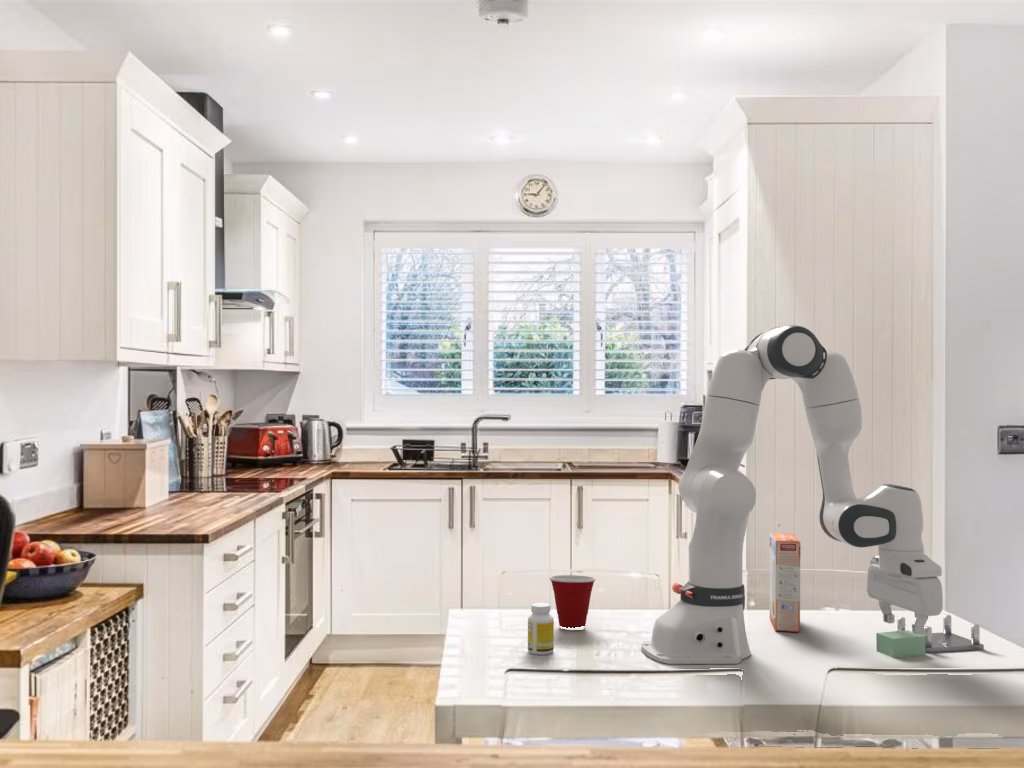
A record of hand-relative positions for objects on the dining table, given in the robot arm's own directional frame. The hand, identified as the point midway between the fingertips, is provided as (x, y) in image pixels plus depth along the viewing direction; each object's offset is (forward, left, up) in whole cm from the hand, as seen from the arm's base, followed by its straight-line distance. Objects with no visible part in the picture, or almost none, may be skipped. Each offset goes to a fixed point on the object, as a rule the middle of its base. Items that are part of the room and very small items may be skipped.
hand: (903, 628), depth 184 cm
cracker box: (-13, +26, -5) cm, 29 cm away
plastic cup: (-63, +33, -5) cm, 71 cm away
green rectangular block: (-1, 0, -5) cm, 5 cm away
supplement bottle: (-75, +15, -5) cm, 76 cm away
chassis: (+11, +4, -5) cm, 13 cm away
